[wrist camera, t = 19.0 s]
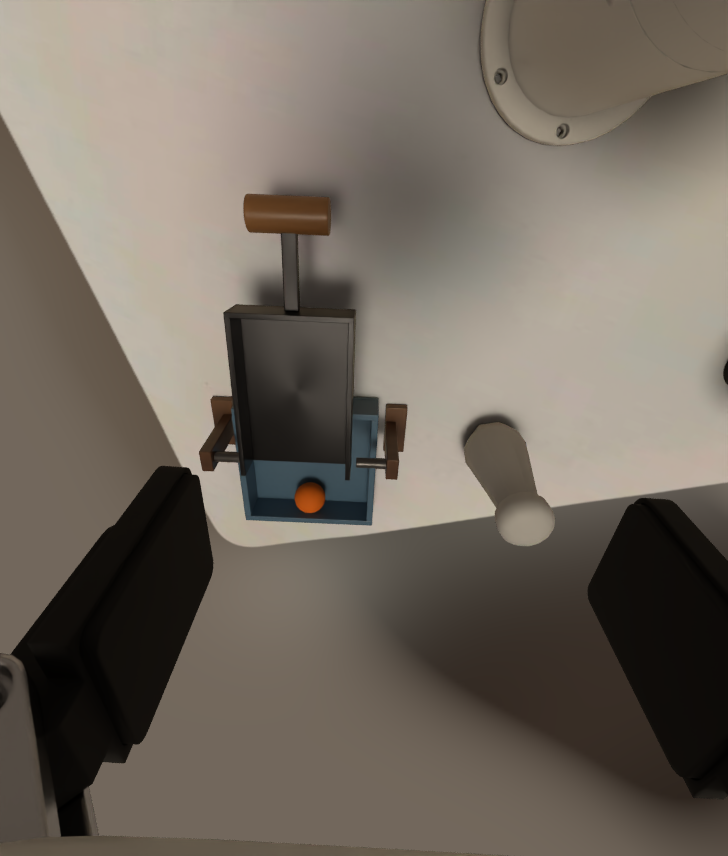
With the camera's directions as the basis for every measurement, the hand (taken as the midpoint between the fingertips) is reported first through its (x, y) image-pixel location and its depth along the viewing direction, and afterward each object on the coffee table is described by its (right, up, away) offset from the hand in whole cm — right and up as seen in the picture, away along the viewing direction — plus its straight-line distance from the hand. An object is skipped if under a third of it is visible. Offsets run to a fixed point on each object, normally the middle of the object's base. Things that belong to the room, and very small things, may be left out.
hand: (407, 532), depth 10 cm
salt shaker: (+12, +1, +34) cm, 36 cm away
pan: (-6, +9, +23) cm, 25 cm away
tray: (-6, 0, +35) cm, 35 cm away
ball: (-7, -5, +35) cm, 36 cm away
